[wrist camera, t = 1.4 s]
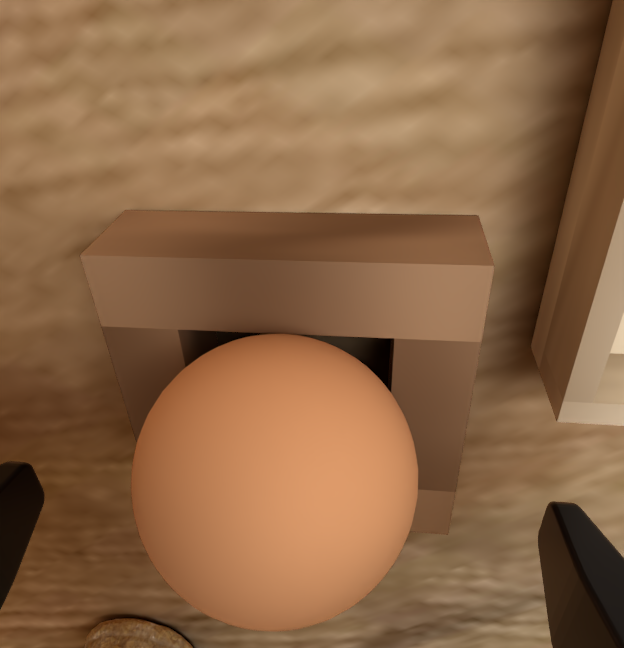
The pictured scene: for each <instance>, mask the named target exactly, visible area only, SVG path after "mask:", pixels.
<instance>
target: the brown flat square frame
mask: <svg viewBox="0 0 624 648" xmlns="http://www.w3.org/2000/svg"><path fill="white" fill-rule="evenodd" d="M80 258H81V261H82V265H83V268H84V271H85V274H86V278H87V281H88V284H89V288H90V291H91V294H92V297H93V301H94V304H95V307H96V311H97V314H98V317H99V320H100V324H101V327H102V330H103V334H104V337H105V340H106V343H107V347H108V350H109V353H110V357H111V360H112V363H113V366H114V370H115V373H116V376H117V380H118V383H119V386H120V389H121V393H122V396H123V399H124V403H125V406H126V409H127V412H128V416H129V419H130V422H131V426H132V429H133V432H134V435H135V439H136V442H137V441H138V438H139V435H140V433H141V430H142V427H143V425H144V423H145V420H146V418H147V415H148V414H149V412H150V410H151V409H152V407H153V406H154V404H155V402H156V401H157V399H158V398H159V396H160V395H161V393H162V391H163V390H164V389H165V388H166V387H167V386H168V385H169V384H170V383H171V381H172V380H173V379H174V378H175V377H176V376H177V375H178V374H179V373H180V372H181V371H182V370H183V369H184V368H186V367H187V366H188V365H190V364H191V363H192V362H193V361H195V360H196V359H198V358H199V357H200V356H202V355H203V354H205V353H207V352H209V351H211V350H212V349H214V348H217V347H219V346H218V340H217V334H216V331H226V332H250V333H274V334H298V335H322V336H346V337H370V338H391V346H390V363H389V381H388V390H389V391H390V392H391V394H392V395H393V397H394V398H395V400H396V402H397V404H398V405H399V407H400V409H401V411H402V412H403V414H404V416H405V418H406V421H407V424H408V426H409V429H410V432H411V435H412V438H413V441H414V446H415V451H416V457H417V465H418V498H417V503H416V508H415V513H414V517H413V522H412V526H411V528H410V531H409V532H422V533H434V534H446V535H448V533H449V527H450V521H451V516H452V510H453V504H454V498H455V492H456V487H457V481H458V475H459V469H460V463H461V458H462V452H463V446H464V440H465V435H466V429H467V423H468V417H469V411H470V406H471V400H472V394H473V388H474V382H475V377H476V371H477V365H478V359H479V354H480V348H481V342H482V336H483V330H484V325H485V319H486V313H487V307H488V301H489V296H490V290H491V284H492V278H493V273H494V267H495V265H494V262H493V259H492V256H491V253H490V250H489V247H488V244H487V241H486V238H485V235H484V232H483V228H482V225H481V222H480V219H479V216H468V215H402V214H336V213H270V212H204V211H138V210H125V211H124V212H123V213H122V214H121V215H120V216H119V217H118V218H117V219H116V220H115V221H114V222H113V223H112V224H111V225H110V226H109V227H108V228H107V229H106V230H105V231H104V232H103V233H102V234H101V235H100V236H99V237H98V238H97V239H96V240H95V241H94V242H93V243H92V244H91V245H90V246H89V247H88V248H87V249H86V250H85V251H83V252H82V253H81V254H80Z"/></svg>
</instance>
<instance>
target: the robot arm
mask: <svg viewBox="0 0 624 648" xmlns="http://www.w3.org/2000/svg"><path fill="white" fill-rule="evenodd" d="M43 504H44V490H43V488H42V486H41V484H40V482H39V480H38V477H37V475H36V473H35V471H34V469H33V467H32V466H31V465H30V464H29V463H25V462H12V461H11V462H5V463H3V464H1V465H0V609H1V607H2V605H3V603H4V601H5V599H6V597H7V595H8V593H9V590H10V588H11V586H12V584H13V582H14V579H15V577H16V574H17V572H18V569H19V567H20V564H21V562H22V559H23V556H24V554H25V551H26V549H27V546H28V543H29V541H30V538H31V536H32V533H33V530H34V528H35V525H36V523H37V520H38V517H39V515H40V512H41V510H42V507H43ZM538 547H539V555H540V562H541V569H542V577H543V584H544V592H545V599H546V607H547V614H548V622H549V629H550V635H551V642H552V646H553V648H624V558H623V557H622V555H621V554H620V553H619V552H618V551H617V550H616V548H615V547H614V546H613V545H612V544H611V543H610V541H609V540H608V539H607V538H606V537H605V536H604V535H603V533H602V532H601V531H600V530H599V529H598V528H597V526H596V525H595V524H594V523H593V522H592V521H591V519H590V518H589V517H588V516H587V515H586V514H585V512H584V511H583V510H582V509H581V508H580V507H579V506H578V505H576V504H574V503H567V502H550V503H549V504H548V506H547V508H546V511H545V514H544V517H543V520H542V524H541V527H540V530H539V534H538Z"/></svg>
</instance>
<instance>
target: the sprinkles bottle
mask: <svg viewBox="0 0 624 648" xmlns="http://www.w3.org/2000/svg"><path fill="white" fill-rule="evenodd" d="M85 648H193V647H192V645H190V644H189V642H188V641H187V640H185V639H184V638H183V637H182V636H181V635H180V634H178V633H177V632H175V631H173V630H172V629H170V628H168V627H165V626H161V625H158V624H155V623H152V622H148V621H145V620H141V619H135V618H123V619H114V620H110V621H105V622H102V623H99V624H98V625H97V626H96V627H95V628H93V629H92V630H91V632H90V633H89V634H88V636H87V638H86V643H85Z"/></svg>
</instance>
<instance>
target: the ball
mask: <svg viewBox="0 0 624 648" xmlns="http://www.w3.org/2000/svg"><path fill="white" fill-rule="evenodd" d="M131 495H132V505H133V513H134V517H135V521H136V525H137V528H138V532H139V535H140V538H141V541H142V543H143V545H144V547H145V549H146V551H147V554H148V556H149V558H150V560H151V562H152V563H153V565H154V566H155V568H156V569H157V571H158V572H159V573H160V575H161V576H162V577H163V579H164V580H165V581H166V582H167V584H168V585H169V586H170V587H171V588H172V589H173V590H174V591H175V592H176V593H177V594H178V595H179V596H181V597H182V598H183V599H184V600H185V601H187V602H188V603H189V604H190V605H192V606H193V607H194V608H196V609H197V610H199V611H201V612H202V613H204V614H206V615H208V616H210V617H212V618H214V619H217V620H219V621H221V622H224V623H227V624H230V625H233V626H236V627H240V628H245V629H250V630H258V631H289V630H296V629H300V628H304V627H308V626H311V625H315V624H318V623H321V622H324V621H327V620H329V619H331V618H333V617H335V616H337V615H338V614H340V613H342V612H344V611H346V610H348V609H349V608H351V607H352V606H353V605H355V604H356V603H358V602H359V601H360V600H361V599H362V598H364V597H365V596H366V595H367V594H369V593H370V592H371V591H372V590H373V589H374V588H375V587H376V586H377V585H378V583H379V582H380V581H381V580H382V579H383V577H384V576H385V575H386V574H387V573H388V571H389V570H390V568H391V567H392V566H393V564H394V562H395V561H396V559H397V557H398V555H399V554H400V552H401V550H402V548H403V546H404V544H405V541H406V539H407V536H408V534H409V531H410V528H411V526H412V522H413V517H414V513H415V508H416V503H417V498H418V465H417V457H416V451H415V446H414V441H413V438H412V435H411V432H410V429H409V426H408V424H407V421H406V418H405V416H404V414H403V412H402V411H401V409H400V407H399V405H398V404H397V402H396V400H395V398H394V397H393V395H392V394H391V392H390V391H389V390H388V388H387V387H386V386H385V385H384V383H383V382H382V381H381V380H380V379H379V378H378V377H377V376H376V375H375V374H374V373H373V372H372V371H371V370H370V369H369V368H368V367H367V366H366V365H364V364H363V363H362V362H360V361H359V360H358V359H356V358H355V357H353V356H352V355H350V354H348V353H346V352H345V351H343V350H341V349H339V348H338V347H335V346H333V345H331V344H328V343H326V342H323V341H320V340H317V339H314V338H310V337H305V336H300V335H292V334H264V335H256V336H249V337H245V338H241V339H237V340H234V341H231V342H229V343H226V344H224V345H221V346H219V347H217V348H214V349H212V350H211V351H209V352H207V353H205V354H203V355H202V356H200V357H199V358H198V359H196V360H195V361H193V362H192V363H191V364H190V365H188V366H187V367H186V368H184V369H183V370H182V371H181V372H180V373H179V374H178V375H177V376H176V377H175V378H174V379H173V380H172V381H171V383H170V384H169V385H168V386H167V387H166V388H165V389H164V390H163V391H162V393H161V395H160V396H159V398H158V399H157V401H156V402H155V404H154V406H153V407H152V409H151V410H150V412H149V414H148V415H147V418H146V420H145V423H144V425H143V427H142V430H141V433H140V435H139V438H138V441H137V445H136V449H135V453H134V458H133V465H132V476H131Z"/></svg>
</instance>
